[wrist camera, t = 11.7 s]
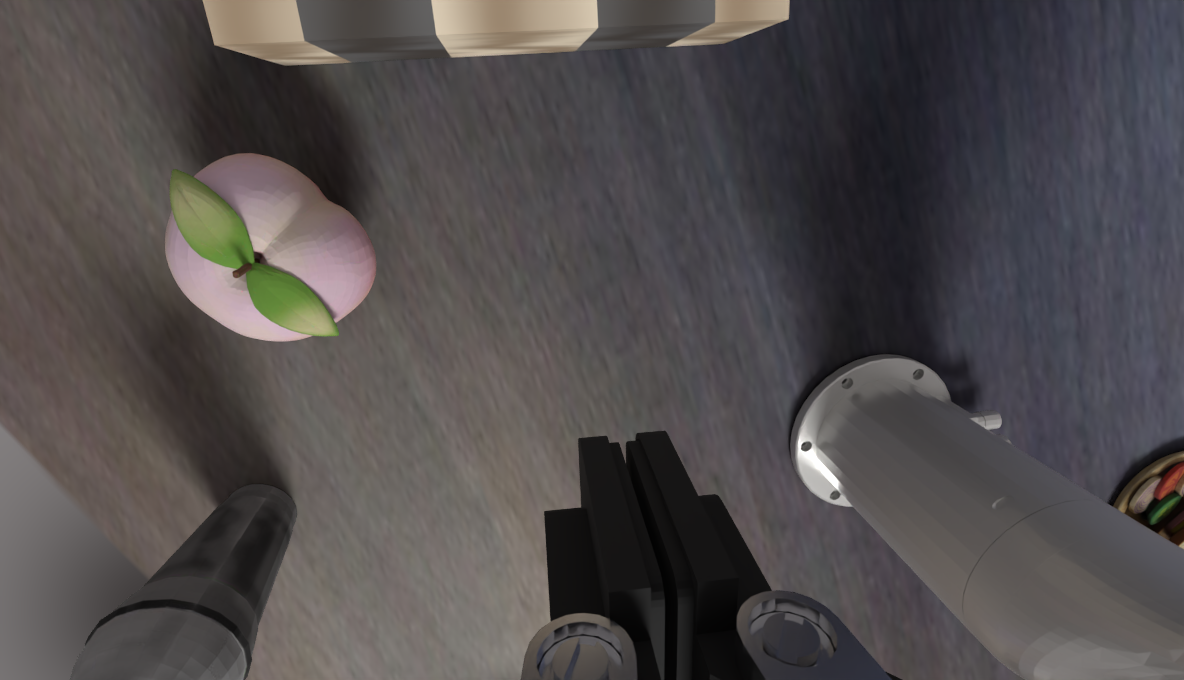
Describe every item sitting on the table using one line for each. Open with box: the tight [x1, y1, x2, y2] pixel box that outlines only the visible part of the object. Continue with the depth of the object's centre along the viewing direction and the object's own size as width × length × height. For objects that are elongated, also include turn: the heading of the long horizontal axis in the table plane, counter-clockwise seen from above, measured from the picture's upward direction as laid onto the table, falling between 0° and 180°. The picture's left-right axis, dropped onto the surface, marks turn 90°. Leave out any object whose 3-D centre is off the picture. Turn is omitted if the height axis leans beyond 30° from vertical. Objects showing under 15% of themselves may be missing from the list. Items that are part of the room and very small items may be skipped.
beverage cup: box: [70, 484, 297, 680], centre depth 29 cm, size 7×7×20 cm
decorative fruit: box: [165, 153, 376, 341], centre depth 28 cm, size 9×8×10 cm
